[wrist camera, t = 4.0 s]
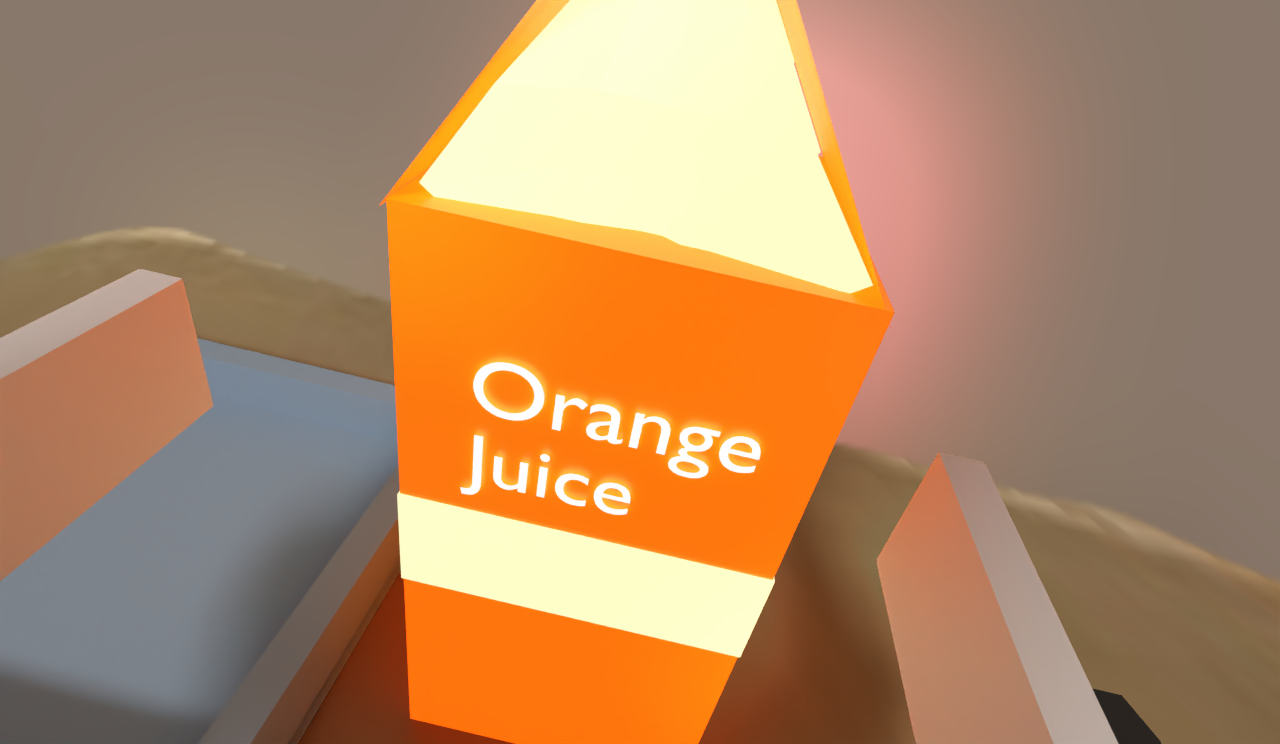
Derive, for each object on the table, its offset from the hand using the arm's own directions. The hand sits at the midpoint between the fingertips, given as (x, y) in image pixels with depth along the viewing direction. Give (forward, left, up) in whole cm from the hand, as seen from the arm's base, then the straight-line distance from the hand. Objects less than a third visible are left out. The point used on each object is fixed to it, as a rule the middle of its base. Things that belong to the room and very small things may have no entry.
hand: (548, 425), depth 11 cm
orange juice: (-1, -4, -11) cm, 12 cm away
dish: (+13, -3, -11) cm, 17 cm away
